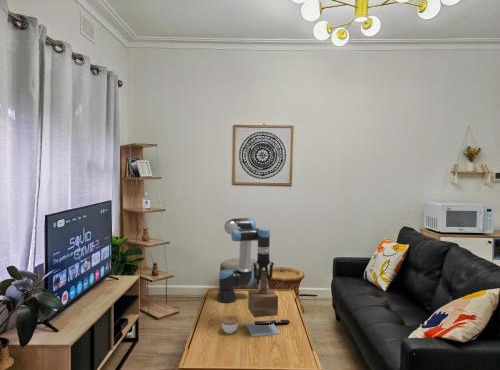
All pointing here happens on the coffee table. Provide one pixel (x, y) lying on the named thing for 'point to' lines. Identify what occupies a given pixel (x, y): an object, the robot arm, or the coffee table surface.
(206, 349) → the coffee table surface
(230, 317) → the lidded jar
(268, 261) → the robot arm
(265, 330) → the mat
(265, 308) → the cover
